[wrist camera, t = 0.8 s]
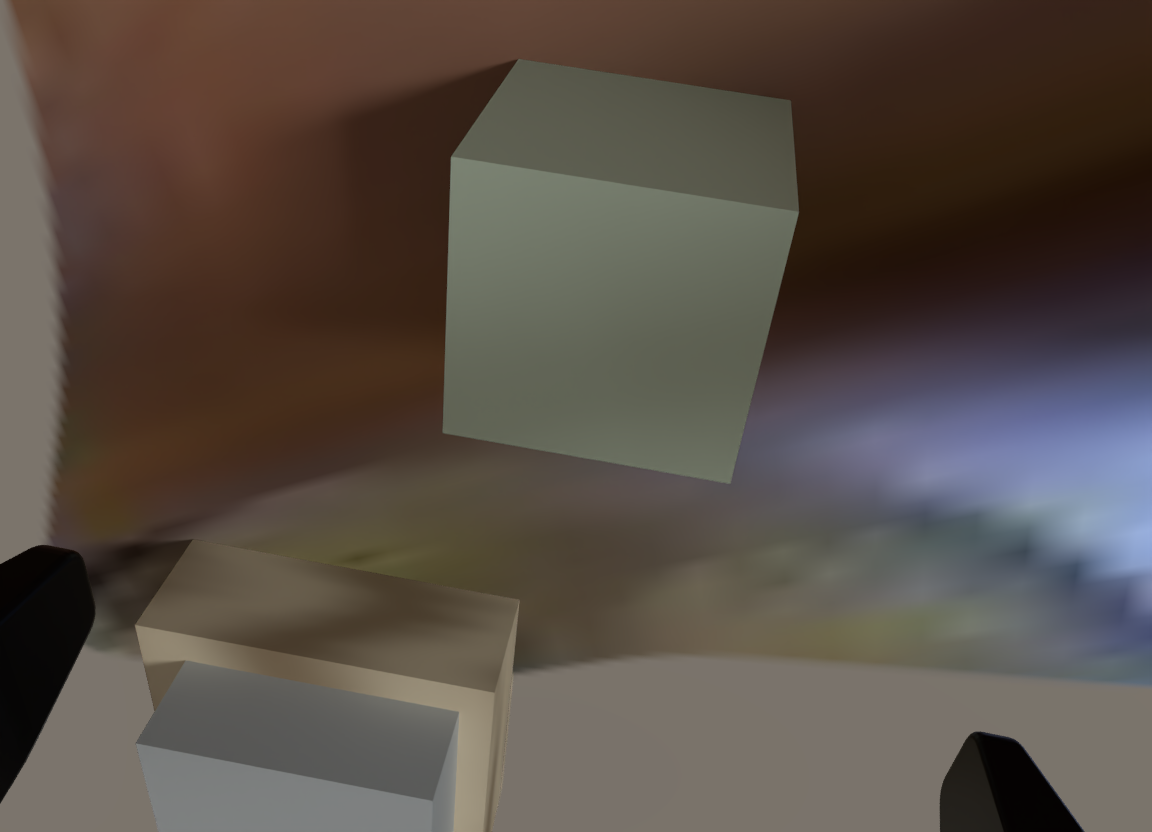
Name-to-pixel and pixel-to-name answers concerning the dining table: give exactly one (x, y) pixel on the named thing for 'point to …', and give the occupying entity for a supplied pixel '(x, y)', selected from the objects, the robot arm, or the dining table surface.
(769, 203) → the sage cube
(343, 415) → the dining table surface
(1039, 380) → the dining table surface
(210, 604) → the oak base block
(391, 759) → the slate slab
